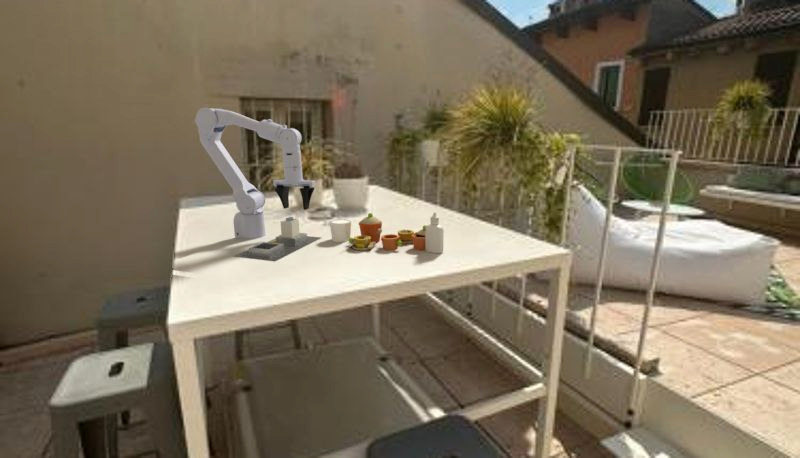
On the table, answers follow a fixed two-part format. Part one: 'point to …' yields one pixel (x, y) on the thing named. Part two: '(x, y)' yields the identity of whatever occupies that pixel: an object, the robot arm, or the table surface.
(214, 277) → the table surface
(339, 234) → the white cylinder
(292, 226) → the plug
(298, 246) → the panel
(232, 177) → the robot arm
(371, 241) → the toy tea set
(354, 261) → the table surface
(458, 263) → the table surface
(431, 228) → the eye dropper bottle
